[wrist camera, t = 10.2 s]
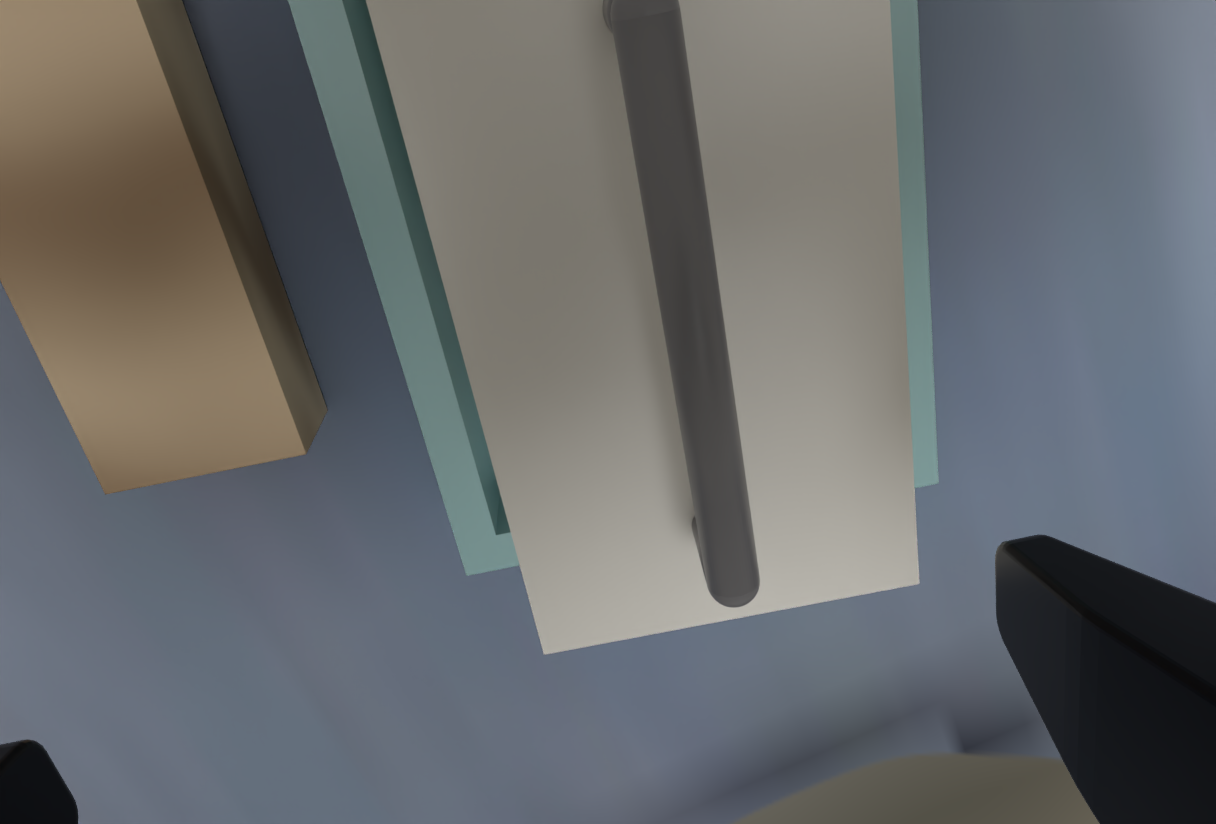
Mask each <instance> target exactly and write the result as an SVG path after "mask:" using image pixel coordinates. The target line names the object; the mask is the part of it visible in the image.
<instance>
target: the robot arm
mask: <svg viewBox="0 0 1216 824" xmlns="http://www.w3.org/2000/svg"><path fill="white" fill-rule="evenodd" d="M995 576H996V617H997V623H998V627H999V631H1000V634H1001V637H1002V639H1003V642H1004V644H1005V646H1006V648H1007V650H1008V652H1009V654H1010V656H1011V658H1012V660H1013V662H1014V664H1015V666H1016V668H1017V670H1018V672H1019V674H1020V676H1021V678H1022V680H1023V682H1024V684H1025V686H1026V688H1027V690H1028V692H1029V694H1030V696H1031V698H1032V700H1033V702H1034V704H1035V706H1036V708H1037V710H1038V712H1039V714H1040V716H1041V718H1042V720H1043V722H1044V724H1045V726H1046V728H1047V730H1048V732H1049V734H1050V736H1051V738H1052V740H1053V742H1054V744H1055V746H1056V748H1057V750H1058V752H1059V754H1060V756H1061V758H1062V760H1063V762H1064V764H1065V765H1066V767H1067V769H1068V771H1069V772H1070V775H1071V777H1072V779H1073V780H1074V782H1075V784H1076V786H1077V788H1078V789H1079V791H1080V793H1081V794H1082V796H1083V798H1084V799H1085V801H1086V803H1087V804H1088V806H1089V807H1090V809H1091V811H1092V812H1093V814H1094V815H1095V817H1096V819H1097V820H1098V822H1099V823H1100V824H1216V603H1215V602H1212V601H1210V600H1207V599H1205V598H1202V597H1200V596H1197V595H1195V594H1192V593H1190V592H1187V591H1185V590H1182V589H1180V588H1177V587H1175V586H1172V585H1170V584H1167V583H1165V582H1162V581H1160V580H1157V579H1155V578H1152V577H1150V576H1147V575H1145V574H1142V573H1140V572H1137V571H1135V570H1132V569H1130V568H1127V567H1125V566H1122V565H1120V564H1117V563H1115V562H1112V561H1110V560H1107V559H1105V558H1102V557H1100V556H1097V555H1095V554H1092V553H1090V552H1087V551H1085V550H1082V549H1080V548H1077V547H1075V546H1072V545H1070V544H1067V543H1065V542H1062V541H1060V540H1057V539H1055V538H1052V537H1050V536H1046V535H1034V536H1029V537H1024V538H1019V539H1014V540H1009V541H1005V542H1002V543H1001V545H1000V546H999V547H998V548H997V551H996V555H995ZM0 824H78V809H77V805H76V802H75V799H74V797H73V796H72V794H71V792H70V790H69V789H68V787H67V785H66V784H65V782H64V780H63V779H62V777H61V775H60V774H59V772H58V770H57V768H56V767H55V765H54V763H53V762H52V760H51V758H50V757H49V755H48V753H47V751H46V750H45V749H44V747H43V746H42V745H40V744H39V743H38V742H36V741H33V740H21V741H16V742H11V743H6V744H1V745H0Z"/></svg>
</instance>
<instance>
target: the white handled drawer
mask: <svg viewBox="0 0 1216 824" xmlns="http://www.w3.org/2000/svg"><path fill="white" fill-rule="evenodd" d="M366 3H367V6H368V10H369V14H370V17H371V21H372V25H373V28H374V32H375V36H376V39H377V43H378V47H379V50H380V54H381V58H382V62H383V65H384V69H385V73H386V76H387V80H388V84H389V87H390V91H391V95H392V98H393V102H394V106H395V109H396V113H397V117H398V120H399V124H400V128H401V131H402V135H403V139H404V142H405V146H406V150H407V153H408V157H409V161H410V164H411V168H412V172H413V175H414V179H415V183H416V186H417V190H418V194H419V197H420V201H421V205H422V208H423V212H424V216H425V219H426V223H427V227H428V230H429V234H430V238H431V241H432V245H433V249H434V252H435V256H436V260H437V263H438V267H439V271H440V274H441V278H442V282H443V285H444V289H445V293H446V297H447V300H448V304H449V308H450V311H451V315H452V319H453V322H454V326H455V330H456V333H457V337H458V341H459V344H460V348H461V352H462V355H463V359H464V363H465V366H466V370H467V374H468V377H469V381H470V385H471V388H472V392H473V396H474V399H475V403H476V407H477V410H478V414H479V418H480V421H481V425H482V429H483V432H484V436H485V440H486V443H487V447H488V451H489V454H490V458H491V462H492V465H493V469H494V473H495V476H496V480H497V484H498V487H499V491H500V495H501V498H502V502H503V506H504V509H505V513H506V517H507V520H508V524H509V528H510V531H511V535H512V539H513V543H514V546H515V550H516V554H517V557H518V561H519V565H520V568H521V572H522V576H523V579H524V583H525V587H526V590H527V594H528V598H529V601H530V605H531V609H532V612H533V616H534V620H535V623H536V627H537V631H538V634H539V638H540V642H541V645H542V649H543V653H544V655H545V654H551V653H556V652H561V651H567V650H572V649H577V648H582V647H588V646H593V645H598V644H604V643H609V642H614V641H619V640H625V639H630V638H635V637H641V636H646V635H651V634H657V633H662V632H667V631H672V630H678V629H683V628H688V627H694V626H699V625H704V624H709V623H715V622H720V621H725V620H731V619H736V618H741V617H747V616H752V615H757V614H762V613H768V612H773V611H778V610H784V609H789V608H794V607H799V606H805V605H810V604H815V603H821V602H826V601H831V600H837V599H842V598H847V597H852V596H858V595H863V594H868V593H874V592H879V591H884V590H889V589H895V588H900V587H905V586H911V585H916V584H919V567H918V548H917V528H916V508H915V488H914V468H913V448H912V429H911V409H910V389H909V369H908V349H907V329H906V310H905V290H904V270H903V250H902V230H901V210H900V191H899V171H898V151H897V131H896V111H895V92H894V72H893V52H892V32H891V12H890V0H366Z"/></svg>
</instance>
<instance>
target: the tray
mask: <svg viewBox="0 0 1216 824" xmlns="http://www.w3.org/2000/svg"><path fill="white" fill-rule="evenodd" d="M288 2H289V6H290V9H291V12H292V15H293V18H294V22H295V25H296V28H297V31H298V35H299V38H300V41H301V44H302V47H303V51H304V54H305V57H306V60H307V64H308V67H309V70H310V73H311V76H312V80H313V83H314V86H315V89H316V93H317V96H318V99H319V102H320V105H321V109H322V112H323V115H324V118H325V122H326V125H327V128H328V131H329V134H330V138H331V141H332V144H333V147H334V151H335V154H336V157H337V160H338V163H339V167H340V170H341V173H342V176H343V180H344V183H345V186H346V189H347V192H348V196H349V199H350V202H351V205H352V209H353V212H354V215H355V218H356V221H357V225H358V228H359V231H360V234H361V238H362V241H363V244H364V247H365V250H366V254H367V257H368V260H369V263H370V267H371V270H372V273H373V276H374V279H375V283H376V286H377V289H378V292H379V295H380V299H381V302H382V305H383V308H384V312H385V315H386V318H387V321H388V324H389V328H390V331H391V334H392V337H393V341H394V344H395V347H396V350H397V353H398V357H399V360H400V363H401V366H402V370H403V373H404V376H405V379H406V382H407V386H408V389H409V392H410V395H411V399H412V402H413V405H414V408H415V411H416V415H417V418H418V421H419V424H420V428H421V431H422V434H423V437H424V440H425V444H426V447H427V450H428V453H429V457H430V460H431V463H432V466H433V469H434V473H435V476H436V479H437V482H438V486H439V489H440V492H441V495H442V498H443V502H444V505H445V508H446V511H447V515H448V518H449V521H450V524H451V527H452V531H453V534H454V537H455V540H456V544H457V547H458V550H459V553H460V556H461V560H462V563H463V566H464V569H465V572H466V576H469V575H474V574H479V573H484V572H489V571H494V570H499V569H504V568H509V567H515V566H520V565H519V561H518V557H517V554H516V550H515V546H514V543H513V539H512V535H511V531H510V528H509V524H508V520H507V517H506V513H505V509H504V506H503V502H502V498H501V495H500V491H499V487H498V484H497V480H496V476H495V473H494V469H493V465H492V462H491V458H490V454H489V451H488V447H487V443H486V440H485V436H484V432H483V429H482V425H481V421H480V418H479V414H478V410H477V407H476V403H475V399H474V396H473V392H472V388H471V385H470V381H469V377H468V374H467V370H466V366H465V363H464V359H463V355H462V352H461V348H460V344H459V341H458V337H457V333H456V330H455V326H454V322H453V319H452V315H451V311H450V308H449V304H448V300H447V297H446V293H445V289H444V285H443V282H442V278H441V274H440V271H439V267H438V263H437V260H436V256H435V252H434V249H433V245H432V241H431V238H430V234H429V230H428V227H427V223H426V219H425V216H424V212H423V208H422V205H421V201H420V197H419V194H418V190H417V186H416V183H415V179H414V175H413V172H412V168H411V164H410V161H409V157H408V153H407V150H406V146H405V142H404V139H403V135H402V131H401V128H400V124H399V120H398V117H397V113H396V109H395V106H394V102H393V98H392V95H391V91H390V87H389V84H388V80H387V76H386V73H385V69H384V65H383V62H382V58H381V54H380V50H379V47H378V43H377V39H376V36H375V32H374V28H373V25H372V21H371V17H370V14H369V10H368V6H367V3H366V0H288ZM890 12H891V32H892V52H893V72H894V92H895V111H896V131H897V151H898V171H899V191H900V210H901V230H902V250H903V270H904V290H905V310H906V329H907V349H908V369H909V389H910V409H911V429H912V448H913V468H914V488H918V487H923V486H928V485H933V484H938V483H939V482H938V459H937V436H936V413H935V390H934V368H933V345H932V322H931V299H930V276H929V253H928V230H927V207H926V184H925V161H924V138H923V116H922V93H921V70H920V47H919V24H918V1H917V0H890Z"/></svg>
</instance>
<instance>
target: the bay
mask: <svg viewBox="0 0 1216 824" xmlns="http://www.w3.org/2000/svg"><path fill="white" fill-rule="evenodd" d="M0 281H1V283H2V285H3V287H4V289H5V291H6V293H7V295H8V297H9V299H10V301H11V303H12V305H13V307H14V309H15V311H16V313H17V315H18V318H19V320H20V322H21V324H22V326H23V328H24V330H25V332H26V334H27V336H28V338H29V340H30V342H31V344H32V346H33V348H34V350H35V352H36V354H37V356H38V358H39V360H40V362H41V364H42V366H43V368H44V371H45V373H46V375H47V377H48V379H49V381H50V383H51V385H52V387H53V389H54V391H55V393H56V395H57V397H58V399H59V401H60V403H61V405H62V407H63V409H64V411H65V413H66V415H67V417H68V419H69V421H70V424H71V426H72V428H73V430H74V432H75V434H76V436H77V438H78V440H79V442H80V444H81V446H82V448H83V450H84V452H85V454H86V456H87V458H88V460H89V462H90V464H91V466H92V468H93V470H94V472H95V474H96V477H97V479H98V481H99V483H100V485H101V487H102V489H103V491H104V493H105V494H110V493H115V492H120V491H125V490H130V489H135V488H140V487H145V486H150V485H155V484H160V483H165V482H170V481H175V480H180V479H185V478H190V477H195V476H200V475H205V474H210V473H215V472H220V471H225V470H230V469H235V468H240V467H245V466H250V465H255V464H260V463H265V462H270V461H275V460H280V459H285V458H290V457H295V456H300V455H305V454H307V452H308V450H309V448H310V446H311V443H312V441H313V439H314V437H315V435H316V433H317V431H318V429H319V427H320V425H321V423H322V421H323V419H324V417H325V415H326V413H327V411H328V410H327V407H326V404H325V401H324V399H323V396H322V393H321V390H320V387H319V384H318V382H317V379H316V376H315V373H314V370H313V368H312V365H311V362H310V359H309V356H308V354H307V351H306V348H305V345H304V342H303V339H302V337H301V334H300V331H299V328H298V325H297V323H296V320H295V317H294V314H293V311H292V308H291V306H290V303H289V300H288V297H287V294H286V292H285V289H284V286H283V283H282V280H281V278H280V275H279V272H278V269H277V266H276V263H275V261H274V258H273V255H272V252H271V249H270V247H269V244H268V241H267V238H266V235H265V232H264V230H263V227H262V224H261V221H260V218H259V216H258V213H257V210H256V207H255V204H254V202H253V199H252V196H251V193H250V190H249V187H248V185H247V182H246V179H245V176H244V173H243V171H242V168H241V165H240V162H239V159H238V157H237V154H236V151H235V148H234V145H233V142H232V140H231V137H230V134H229V131H228V128H227V126H226V123H225V120H224V117H223V114H222V111H221V109H220V106H219V103H218V100H217V97H216V95H215V92H214V89H213V86H212V83H211V81H210V78H209V75H208V72H207V69H206V66H205V64H204V61H203V58H202V55H201V52H200V50H199V47H198V44H197V41H196V38H195V35H194V33H193V30H192V27H191V24H190V21H189V19H188V16H187V13H186V10H185V7H184V5H183V2H182V0H0Z"/></svg>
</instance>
